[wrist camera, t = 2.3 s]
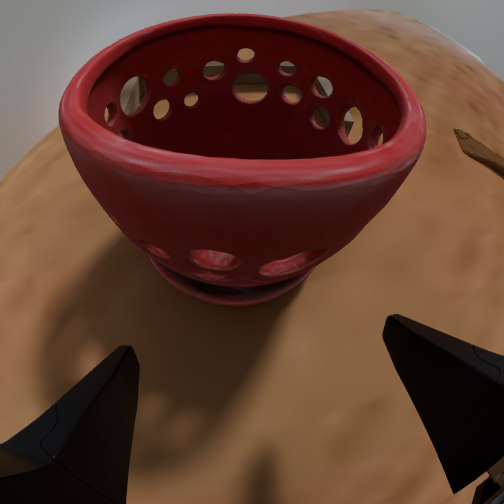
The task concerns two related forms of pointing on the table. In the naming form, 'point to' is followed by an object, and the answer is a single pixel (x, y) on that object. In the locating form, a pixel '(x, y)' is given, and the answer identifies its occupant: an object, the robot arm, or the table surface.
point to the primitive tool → (479, 151)
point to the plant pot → (240, 150)
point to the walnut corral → (323, 86)
